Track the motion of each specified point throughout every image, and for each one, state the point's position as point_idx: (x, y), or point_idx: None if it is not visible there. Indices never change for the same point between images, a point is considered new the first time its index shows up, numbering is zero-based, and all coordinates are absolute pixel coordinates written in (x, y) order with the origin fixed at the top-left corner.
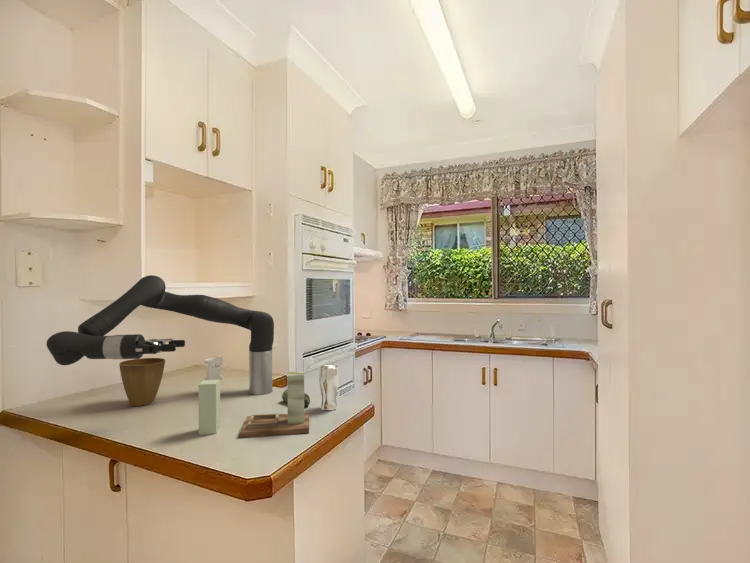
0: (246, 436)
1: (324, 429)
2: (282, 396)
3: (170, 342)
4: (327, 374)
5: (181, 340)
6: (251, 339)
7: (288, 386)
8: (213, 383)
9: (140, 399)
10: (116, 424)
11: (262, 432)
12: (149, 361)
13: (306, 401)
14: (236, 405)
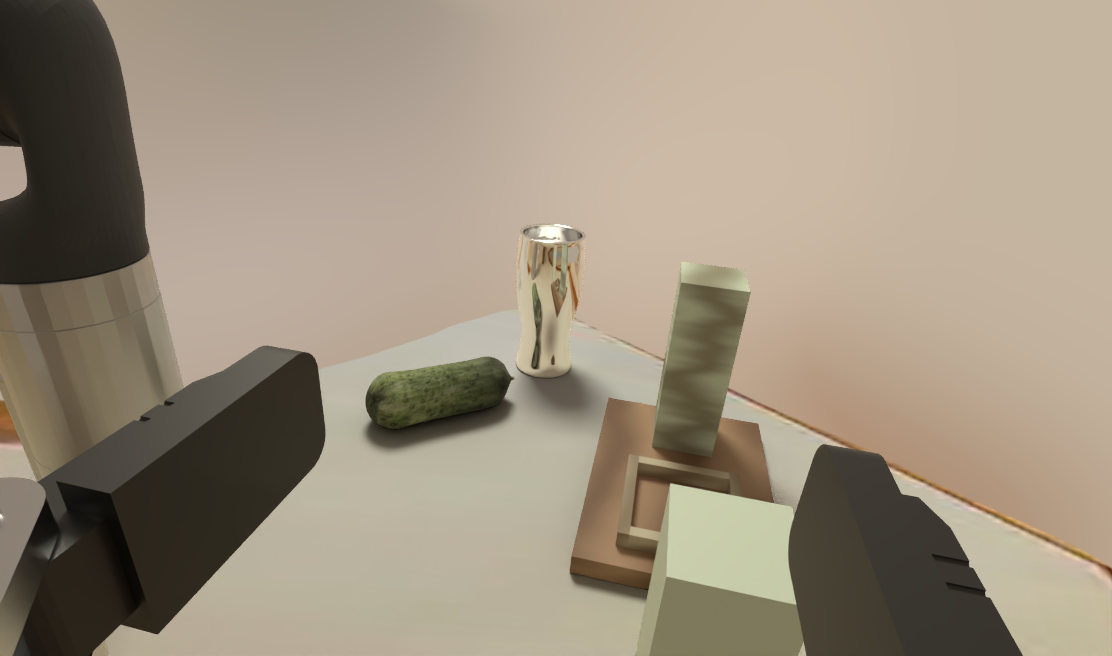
0: None
1: (727, 406)
2: (394, 415)
3: (55, 581)
4: (583, 258)
5: (283, 371)
6: (50, 192)
7: (740, 332)
8: (782, 519)
9: None
10: None
11: None
12: None
13: (510, 378)
14: (271, 597)
